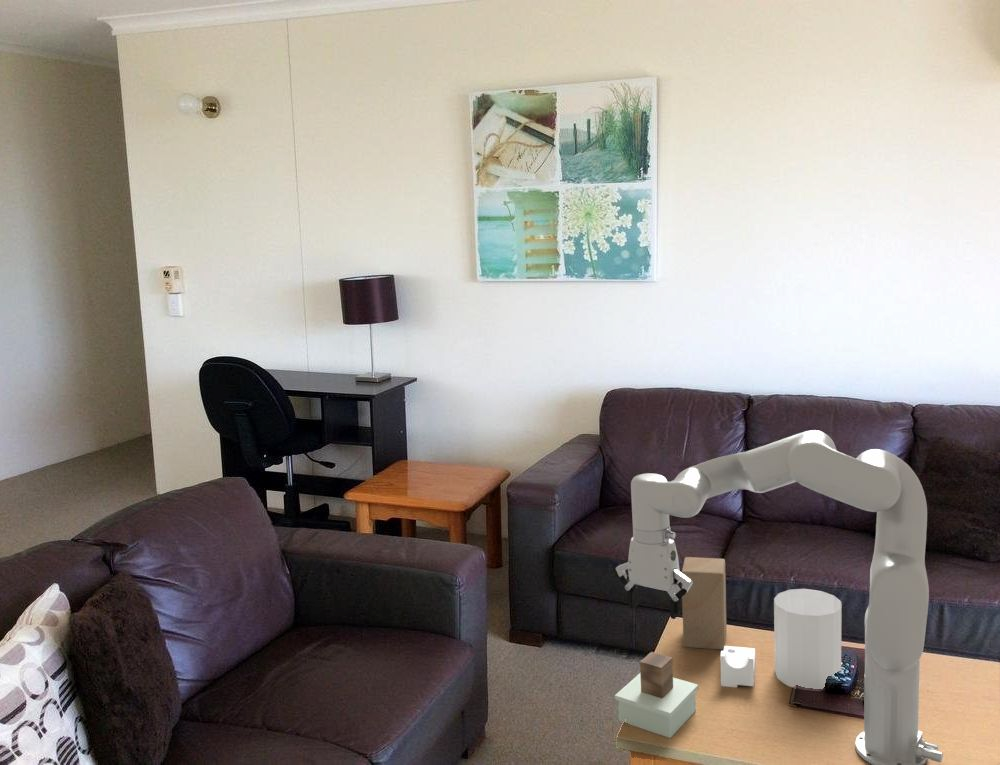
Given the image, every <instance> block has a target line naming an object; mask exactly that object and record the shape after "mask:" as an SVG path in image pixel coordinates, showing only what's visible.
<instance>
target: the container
mask: <svg viewBox="0 0 1000 765" xmlns="http://www.w3.org/2000/svg"><path fill="white" fill-rule="evenodd" d="M773 610H774V611H773V616H774V619H773V624H774V626H773V627H774V629H773V631H774V634H773V636H774V673H775V675H776V679H777V680H779V681H780V683H781V682H782V683H783V684H785V685H786V686H787V687H789V688H793V687H794V686H795V685H798V686H801V687H805V688H813V689H823V688H824V687H825V683H826V679H827V677H828V676H831V675H834V674H835V673H837V672H838V671H840V670H841V671H842V601H841V600H840V599H839V598H838V597H836V595H834V594H830V593H829V592H825V591H823V590H816V589H810V588H795V589H787V590H785V591H782V592H779V593H777V595H776V596H775V597H774V598H773Z"/></svg>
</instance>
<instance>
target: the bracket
mask: <svg viewBox="0 0 1000 765" xmlns="http://www.w3.org/2000/svg"><path fill="white" fill-rule="evenodd" d="M755 666H756V648H753V647H743V646H733V645H732V646H731V645H725V646H724V650H720V686H721V687H728V688H738V686H749V687H755V686H754V683H755Z"/></svg>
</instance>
